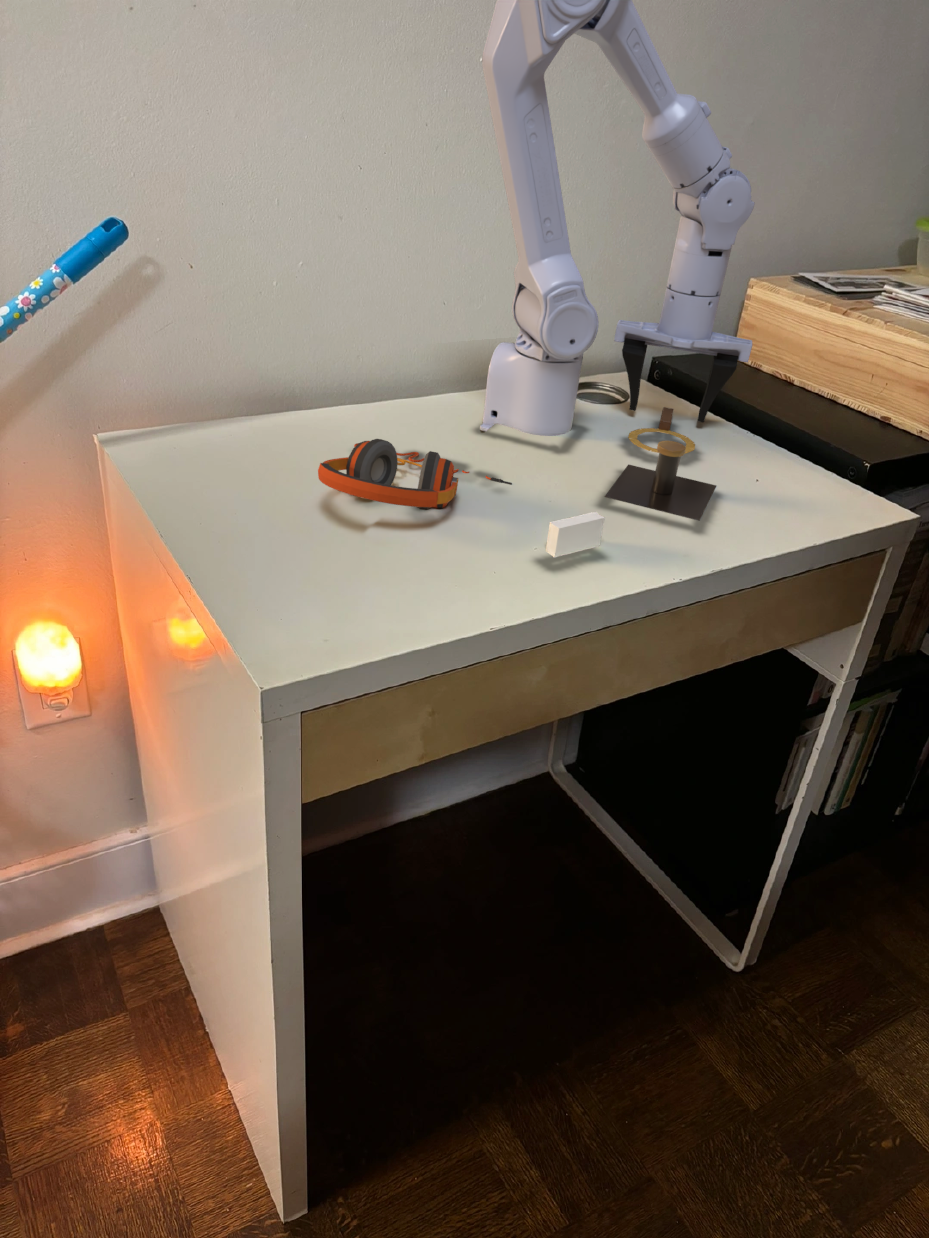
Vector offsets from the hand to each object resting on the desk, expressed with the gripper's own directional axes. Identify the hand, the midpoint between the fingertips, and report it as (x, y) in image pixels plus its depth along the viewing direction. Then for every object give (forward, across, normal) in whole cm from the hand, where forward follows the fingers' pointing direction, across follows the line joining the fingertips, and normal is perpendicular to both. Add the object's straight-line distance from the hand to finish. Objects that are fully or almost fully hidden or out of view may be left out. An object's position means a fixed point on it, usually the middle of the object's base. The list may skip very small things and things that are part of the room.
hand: (666, 413), depth 105 cm
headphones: (+2, -22, -30) cm, 37 cm away
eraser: (+2, -5, -35) cm, 36 cm away
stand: (+2, +1, -20) cm, 20 cm away
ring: (+2, 0, -4) cm, 5 cm away
